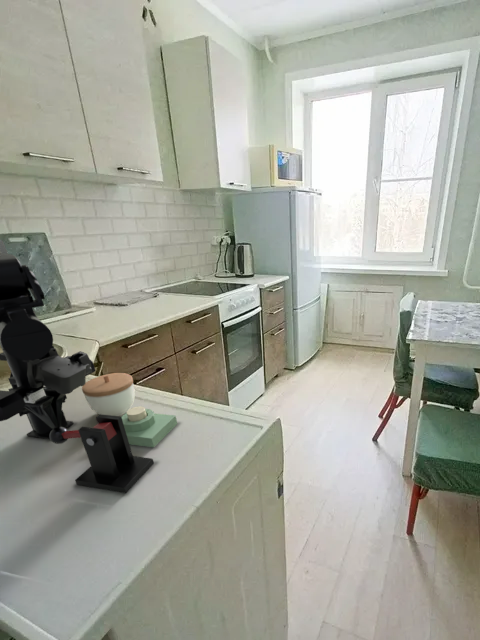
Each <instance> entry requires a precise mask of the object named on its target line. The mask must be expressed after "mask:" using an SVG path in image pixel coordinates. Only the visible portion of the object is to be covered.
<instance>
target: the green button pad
mask: <svg viewBox="0 0 480 640" xmlns="http://www.w3.org/2000/svg"><path fill="white" fill-rule="evenodd" d="M145 411H146V414H147V417H146V418H144V419H142V420H140V421H135V422H131V421H129V420H128V416H127V413H125V414H123V415H121V417H122V421H123V424H124V428H125V431H126V434H127V438H128V441H129V445H130V446H131V445H133V446H139V447H146V448H155V447H156V446H157V445H158V444H159V443H160V442H161V441H162V440H163V439H164V438H165V437H166V436H167V435H168V434H169V433H171V431H172V430H173V429H174V428H175V427H176V426H177V425H178V421H177V416H176V415H174V414H166V413H165V414H164V413H155V412H154V411H153V410H152V409H150V408H145Z"/></svg>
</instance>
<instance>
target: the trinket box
mask: <svg viewBox="0 0 480 640" xmlns="http://www.w3.org/2000/svg"><path fill="white" fill-rule="evenodd" d="M81 391H82V393H83V395H84V399H85V401H86V402H87V404H88V406H89V407H90V408H91V410H92V411H93V412H94V413H96V414H98V415H100V414H102V415H111V416H123V415H124V414H125V413H127V411H128V410H129V409H131V408H132V406H133V404H134V402H135V398H136V390H135V384H134V378H133V376H132V375H131V374H128V373H124V372H114V373H107V374H103V375H100V376H97V377H94V378H91V379H89V380H87V381H86V383H85V385H83V386H81Z"/></svg>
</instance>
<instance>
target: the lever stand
mask: <svg viewBox="0 0 480 640" xmlns="http://www.w3.org/2000/svg"><path fill="white" fill-rule="evenodd" d="M121 416H122V415H121ZM121 416H111V415H102V414H98V415H97V416H96V417H95V419H96V422H97V424H98V423H107V422H111V423H112V425H113V427H114V429H115V431H116V433H117V434H116V435H115V436H114V437H112V438H111V439H110V440H109V441H108V438H107V434H106V431H105V429H98V428H93V427H88V426H81V427H80V428H78V429H77V430H78V431H79V434H80V437H81V438H80V439H81V442H82V445H83V448H84V450H85V453H86V455H87V458H88V462H89V464H90V466H89V467H88V468H87V469H86V470H85V471H84V472H82V473H81V474H80V475H79V476H78V477H77V478H75V479H74V481H75V484H76V486H79V487H86V488H91V489H96V490H104V491H109V492H115V493H121V494H127V493H128V492H129V491H130V490H131V489H132V488H133V487H134V486H135V485H136V483H137V482H138V481H139V480H140V479H141V478H142V477H143V476H144V475H145V474H146V473H147V472H148V471H149V470H150V468H151V467H152V466H153V465H154V464H155V463H154V459H153V458H151V457H143V456H137V455H136V456H135V455H133V452H132V448H131V444H129V441H128V438H127V434H126V431H125V428H124V424H123V421H122V417H121Z"/></svg>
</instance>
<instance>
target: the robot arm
mask: <svg viewBox="0 0 480 640" xmlns="http://www.w3.org/2000/svg"><path fill="white" fill-rule="evenodd" d="M8 252H9V251H8V249H7V248H6V246H5V243H4V241H3V239H1V238H0V348H1V351H2V352H0V361H3V362H6V363H7V365H8V367H9V369H10V371H11V372H10V375H9V377H8V378H7V379H8V381H9V384H10V385H11V388H8V390H1V389H0V422H3V421H7V420H9V419H11V418H13V417H14V416H16V415H19V417H23V416H25V415H26V417H27V419H28V421H29V424H30V426H31V429H32V430H31V431H29V432H28V433H27V434H26V436H27V437H30V438H37V439H45V440H50V437H49V435H50V432H51V431H52V430H53V429H58V428H60V427H64V428H66V429H67V430H68V428H69V427H71V426H73V425H74V421H72V420H67V417H66V416H65V413H64V411H63V409H62V408H63V404H64V403H66V401H67V399H68V397H67V395H69V394H71V393H73V392H74V390H76V389H78V388H79V387H82V386H83V385H85V383H86V382H87V381H86V379H87V378H86V377H87V376H89V375H92V374H93V373H94V372H96V368H95V364H94V362H93V360H92V359H90V357H89V355H88V353H86V352H84V351H82V350H81V351H77V352H76V353H75V352H74V353H73V354H71V355H66V356H64V357H62V356H61V355H59V354H58V351H57V349H56V348H55V346H54V345H53V344H54V335H53V333H52V331H51V329H50V328H49V327H48V326H47V325H46V324H45V323H44V322H42V321H41V320H40V318H38V316H37V314H36V311H35V310H34V308H39V307H44V306H45V303H44V301H43V300H45V299H46V298H45V293H44V291H43V289H42V287H41V285H40V282H39V281H38V279H37V277H36V275H35V273H34V272H33V270H30V268H29V266H27V264H22V263H21V261H20V260H19V258H17V257H16V255H14V254H12V253H8Z"/></svg>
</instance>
